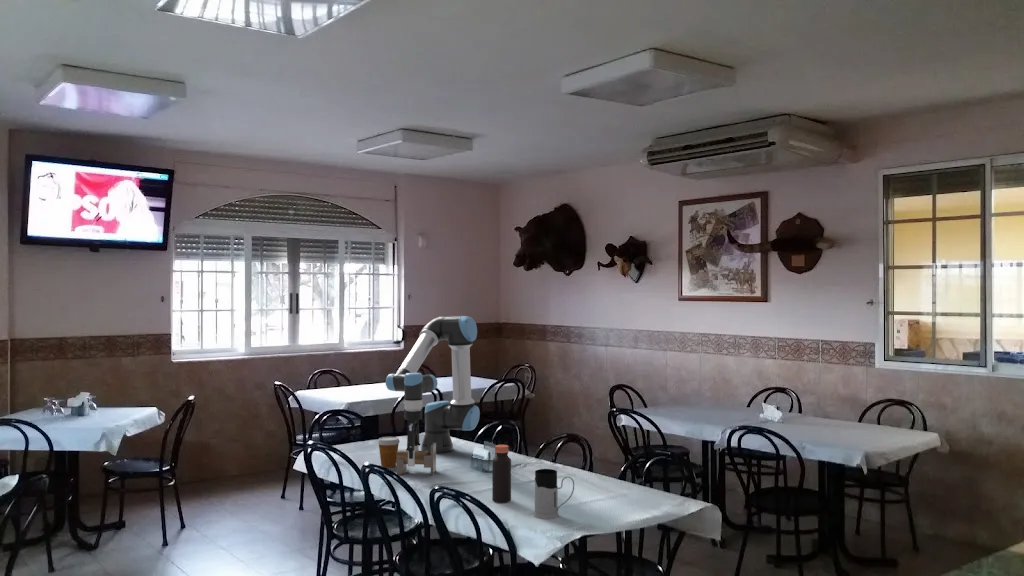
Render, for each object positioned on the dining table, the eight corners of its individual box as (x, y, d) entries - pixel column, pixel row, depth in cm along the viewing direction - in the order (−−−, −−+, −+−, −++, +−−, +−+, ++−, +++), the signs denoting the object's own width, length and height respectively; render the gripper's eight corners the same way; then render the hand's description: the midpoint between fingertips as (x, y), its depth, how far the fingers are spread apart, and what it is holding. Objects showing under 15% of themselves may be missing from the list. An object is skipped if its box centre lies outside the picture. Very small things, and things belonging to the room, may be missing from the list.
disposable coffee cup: (373, 467, 338) (373, 439, 338) (385, 462, 347) (385, 435, 347) (392, 469, 335) (392, 441, 335) (403, 464, 344) (403, 437, 344)
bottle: (492, 498, 289) (493, 444, 289) (511, 498, 289) (511, 444, 289) (491, 503, 282) (491, 447, 282) (510, 503, 282) (510, 447, 282)
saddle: (399, 470, 332) (399, 455, 332) (406, 470, 332) (406, 455, 332) (396, 474, 325) (396, 459, 325) (403, 474, 325) (403, 459, 325)
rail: (398, 462, 330) (398, 450, 330) (428, 462, 330) (428, 450, 330) (396, 464, 327) (396, 452, 327) (427, 464, 326) (427, 452, 326)
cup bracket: (426, 470, 332) (426, 442, 332) (435, 470, 332) (436, 442, 332) (423, 475, 324) (423, 446, 324) (433, 475, 324) (433, 446, 324)
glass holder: (536, 510, 273) (537, 467, 273) (576, 514, 268) (576, 470, 268) (530, 517, 264) (530, 473, 264) (571, 521, 260) (571, 476, 260)
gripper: (409, 405, 339) (409, 458, 339) (399, 413, 318) (399, 469, 318) (426, 406, 339) (426, 458, 339) (417, 413, 318) (417, 469, 318)
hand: (413, 463), depth 328 cm, fingers open, 8 cm apart
